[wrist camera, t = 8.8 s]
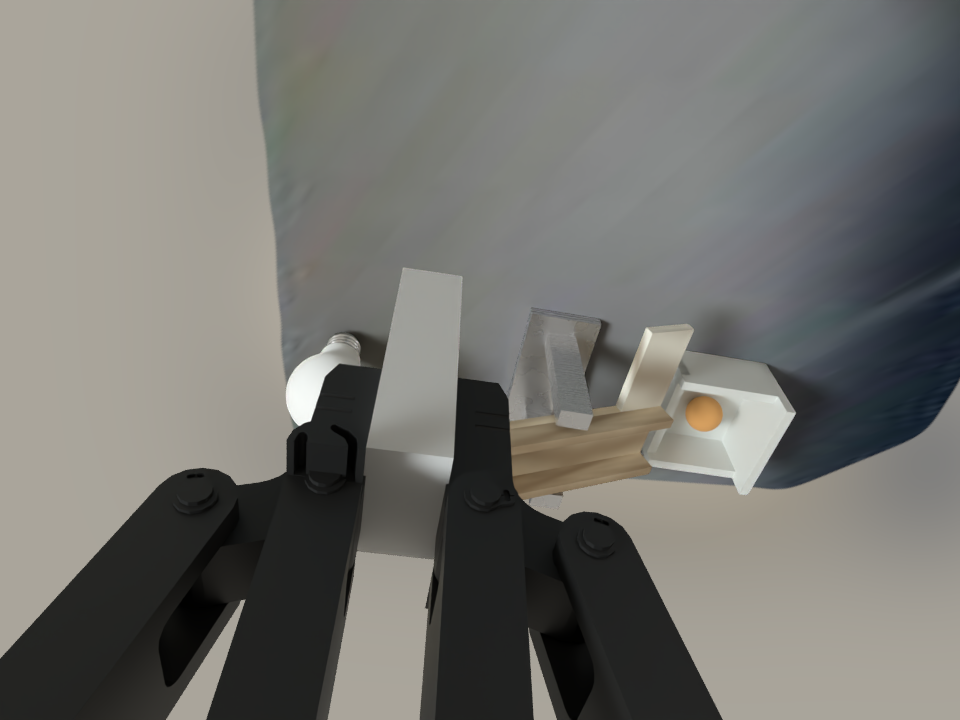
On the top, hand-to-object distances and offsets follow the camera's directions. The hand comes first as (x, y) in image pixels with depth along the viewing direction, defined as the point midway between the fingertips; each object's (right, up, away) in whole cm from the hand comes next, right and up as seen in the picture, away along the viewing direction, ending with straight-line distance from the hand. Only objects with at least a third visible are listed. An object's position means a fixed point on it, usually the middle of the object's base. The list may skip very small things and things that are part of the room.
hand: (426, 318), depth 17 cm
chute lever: (+7, -4, +34) cm, 35 cm away
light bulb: (-10, +1, +41) cm, 43 cm away
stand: (+7, -2, +43) cm, 44 cm away
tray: (+22, -5, +45) cm, 50 cm away
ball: (+21, -6, +43) cm, 49 cm away
